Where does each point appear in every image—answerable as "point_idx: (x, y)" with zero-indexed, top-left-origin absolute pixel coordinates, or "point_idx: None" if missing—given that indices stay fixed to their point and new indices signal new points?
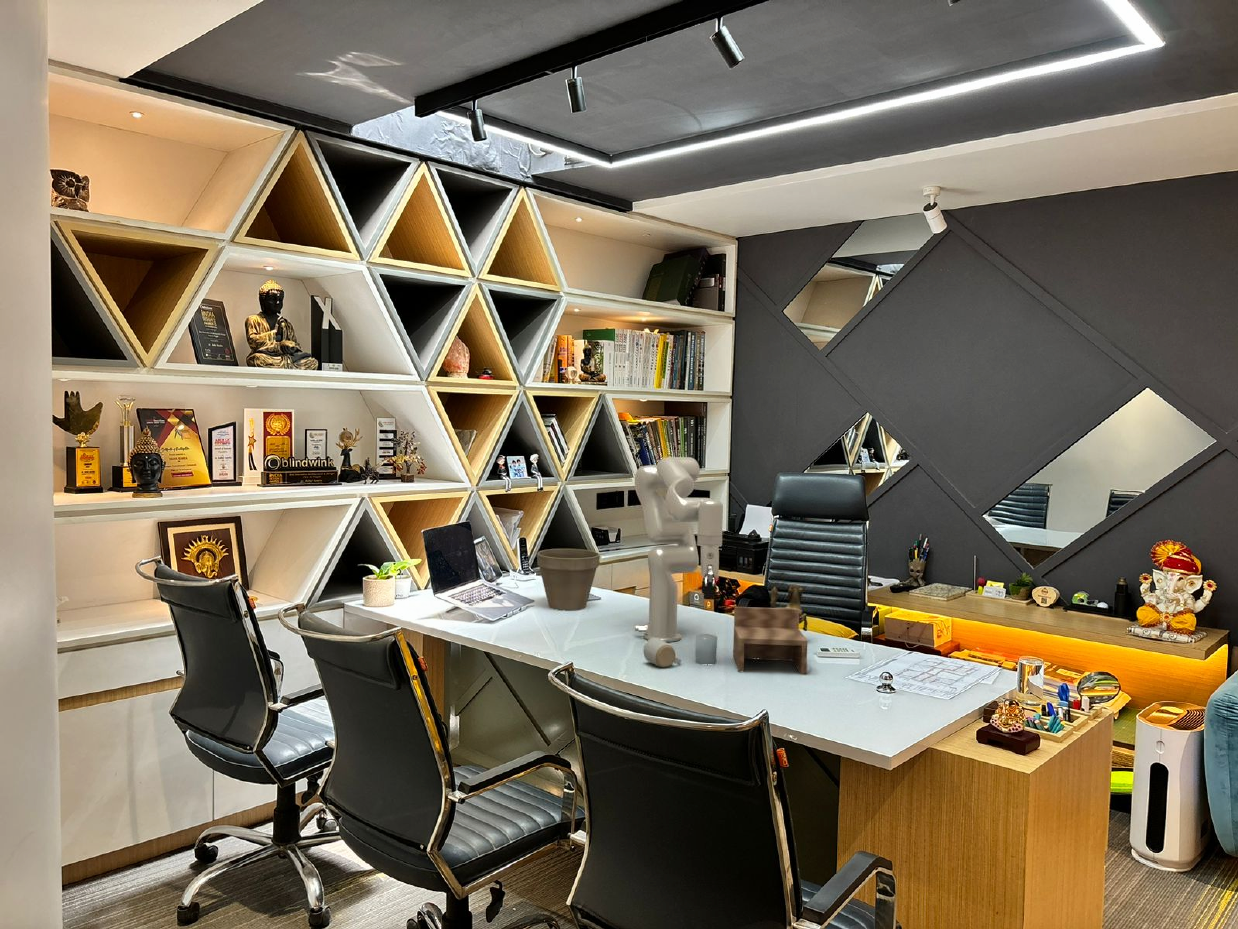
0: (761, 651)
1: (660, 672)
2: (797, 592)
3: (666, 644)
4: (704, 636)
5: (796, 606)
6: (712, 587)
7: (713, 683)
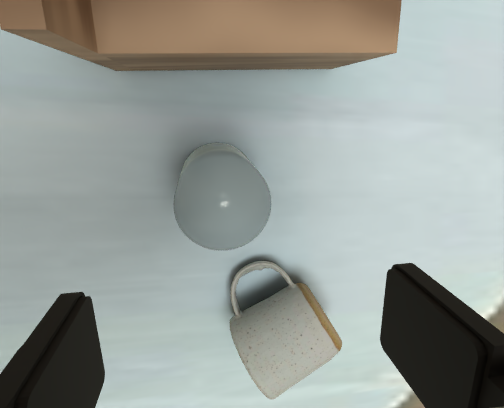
0: None
1: (354, 302)
2: None
3: (327, 339)
4: (226, 215)
5: None
6: (496, 359)
7: (459, 158)
